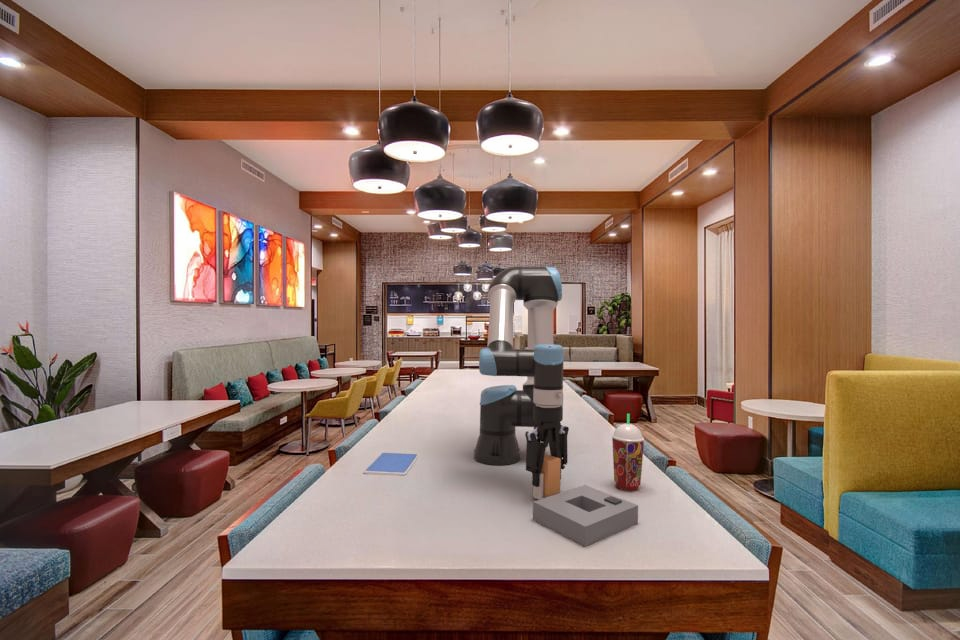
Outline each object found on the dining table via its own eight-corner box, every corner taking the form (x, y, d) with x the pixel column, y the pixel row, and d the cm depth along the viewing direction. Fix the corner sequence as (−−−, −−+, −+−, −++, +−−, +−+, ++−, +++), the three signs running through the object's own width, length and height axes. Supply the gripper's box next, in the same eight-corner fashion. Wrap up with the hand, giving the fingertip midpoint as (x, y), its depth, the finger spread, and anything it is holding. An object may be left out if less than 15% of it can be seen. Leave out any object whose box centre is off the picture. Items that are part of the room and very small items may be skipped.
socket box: (532, 519, 101) (533, 499, 101) (584, 500, 112) (585, 482, 112) (585, 546, 89) (585, 524, 89) (637, 523, 100) (638, 503, 100)
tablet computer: (382, 455, 148) (382, 451, 148) (419, 457, 148) (419, 453, 148) (362, 475, 129) (362, 471, 129) (405, 477, 128) (405, 473, 128)
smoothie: (645, 494, 117) (647, 417, 117) (612, 491, 119) (613, 416, 119) (640, 483, 125) (642, 411, 125) (610, 480, 127) (611, 410, 127)
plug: (532, 495, 115) (533, 456, 115) (544, 491, 118) (545, 453, 118) (547, 502, 111) (548, 461, 111) (560, 498, 114) (560, 458, 114)
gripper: (532, 411, 106) (530, 509, 106) (583, 403, 117) (581, 492, 117) (511, 406, 112) (509, 499, 112) (561, 399, 123) (560, 484, 123)
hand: (546, 495), depth 114 cm, fingers open, 5 cm apart
